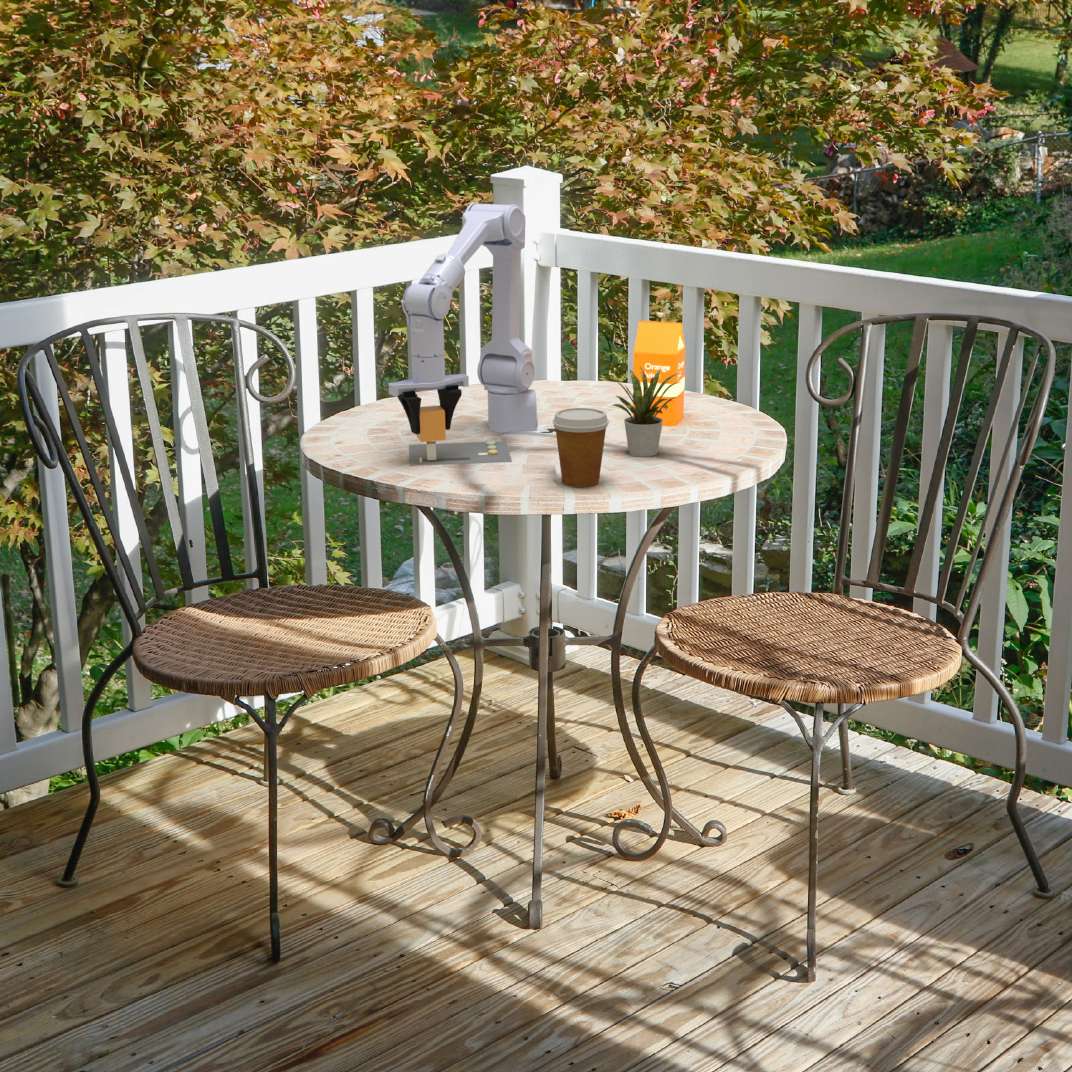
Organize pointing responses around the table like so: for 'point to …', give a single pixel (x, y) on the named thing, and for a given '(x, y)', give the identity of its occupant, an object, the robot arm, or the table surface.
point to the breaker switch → (431, 450)
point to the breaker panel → (461, 453)
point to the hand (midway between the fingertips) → (430, 430)
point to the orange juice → (662, 364)
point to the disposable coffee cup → (580, 444)
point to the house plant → (644, 414)
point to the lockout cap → (432, 424)
